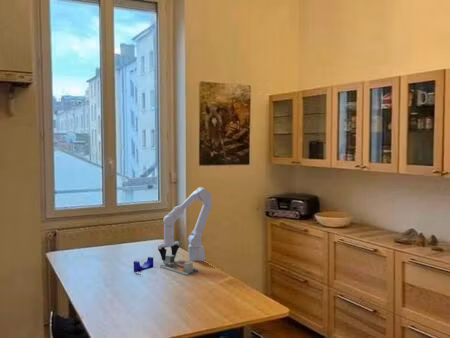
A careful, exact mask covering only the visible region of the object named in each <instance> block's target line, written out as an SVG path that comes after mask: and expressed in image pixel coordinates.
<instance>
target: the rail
mask: <svg viewBox="0 0 450 338" xmlns="http://www.w3.org/2000/svg"><path fill="white" fill-rule="evenodd" d="M159 268H160V269H163V270H164V269H165V270H167V271H170V272H173V273H177V274H180V275H184V276H186V277H187V276H191V275H193V274H196V273H200V272H201V271H200V269H198V268H194V267H193V272H191V273H186V272H184V264H180V263H178V262H171V263H169V264H166V265H163V264H160V265H159Z"/></svg>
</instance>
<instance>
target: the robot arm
mask: <svg viewBox="0 0 450 338" xmlns="http://www.w3.org/2000/svg"><path fill="white" fill-rule="evenodd" d="M195 201H201V203H202V206H201V209H200V211H199V215H198V217H197V220H196V223H195V226H194V228H193V230H192V231H191V232H190V235H188V237H187V241H188V255H187V257H188V261H190V262H191V261H192V262H193V261H194V262H196V261H198V262H205V261H206V258H205V256H206V255H205V247H204V245H202V238H203V231H204V228H205V226H206V222H207V220H208V216H209V214H210V211H211V209H212V207H213V202H212V195H211V193H210V191H209V190H208V189H207V188H205V187H203V186H199V187H197V188H196V189H195V190H194V191H192V193H191V194H189V196H188V197H187V198H186V199H185V200H184V201H183V202H182V203H181V204H180V205H177V206H174V207H173V209H172V210H171V211H170V212H168V213H167V215H164V217H163V220H162V222H163V243H161V244H158V245H157V250H158V252H159V254H160V257H161V261H162V262H163V261H165V259H166V254H167V251H168V249H166V248H170V250H171V255H175V258H176V257H177V253H178V250H179V249H180V241H174V239H175V238H174V236H175V234H174V233H175V232H174V230H175V229H174V225H175V222H176V221H177V220H178V219H180V217H181V216H182V215H184V214H185V210H186V208H188V207H189V206H190V205H192V203H193V202H195Z"/></svg>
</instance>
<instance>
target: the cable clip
mask: <svg viewBox="0 0 450 338" xmlns="http://www.w3.org/2000/svg"><path fill="white" fill-rule="evenodd" d="M153 268H154V257H151V256H148V257H147V261H144V263H142V265H141V263H140V261H138V260H134V261H133V272H134V273H137V272H138V273H139V272H142V271H145V270H149V269H153Z"/></svg>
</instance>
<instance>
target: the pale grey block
mask: <svg viewBox="0 0 450 338" xmlns="http://www.w3.org/2000/svg"><path fill="white" fill-rule="evenodd" d="M175 260H176V257H175V255H172V253H171V254H170V253H166V259H165V261H163V260H162V263H163V264H166V265H169V264H171V262H174V263H176V262H175Z"/></svg>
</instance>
